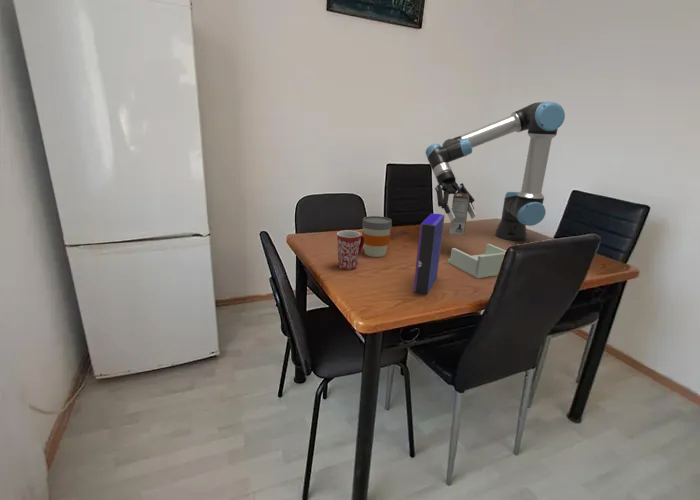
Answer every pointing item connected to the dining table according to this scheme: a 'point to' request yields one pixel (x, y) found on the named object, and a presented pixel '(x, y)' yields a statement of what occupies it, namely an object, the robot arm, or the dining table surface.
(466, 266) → the tray
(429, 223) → the cereal box
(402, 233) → the wooden tablet
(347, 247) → the mug
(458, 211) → the coffee box
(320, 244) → the dining table surface
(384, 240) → the reusable coffee cup
